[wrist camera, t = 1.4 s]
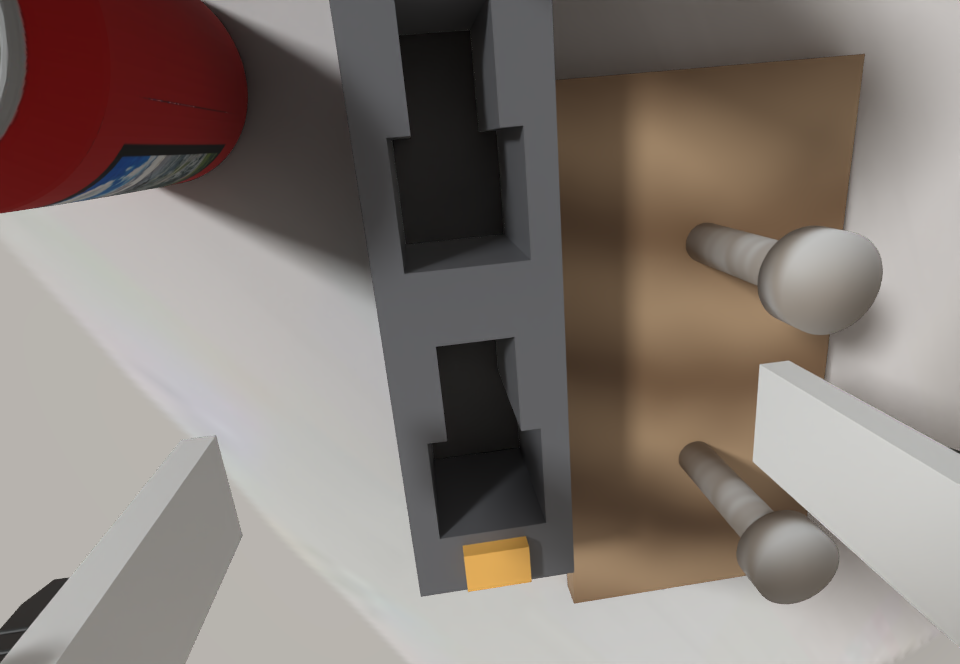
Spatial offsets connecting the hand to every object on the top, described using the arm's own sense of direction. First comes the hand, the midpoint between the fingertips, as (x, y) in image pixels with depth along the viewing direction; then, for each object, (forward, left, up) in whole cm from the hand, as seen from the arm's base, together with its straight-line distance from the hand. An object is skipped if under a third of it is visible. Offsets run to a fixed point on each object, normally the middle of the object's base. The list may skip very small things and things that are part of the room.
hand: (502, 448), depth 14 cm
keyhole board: (+3, +10, -11) cm, 15 cm away
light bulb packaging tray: (-2, 0, -11) cm, 11 cm away
